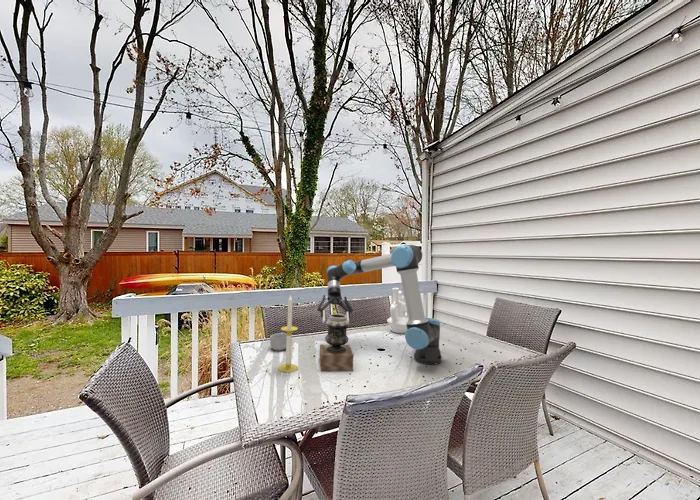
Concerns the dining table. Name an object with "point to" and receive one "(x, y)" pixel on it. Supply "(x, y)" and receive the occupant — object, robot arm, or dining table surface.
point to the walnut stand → (336, 359)
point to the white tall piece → (398, 313)
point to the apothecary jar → (337, 333)
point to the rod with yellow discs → (289, 341)
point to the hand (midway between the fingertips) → (335, 322)
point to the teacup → (278, 341)
